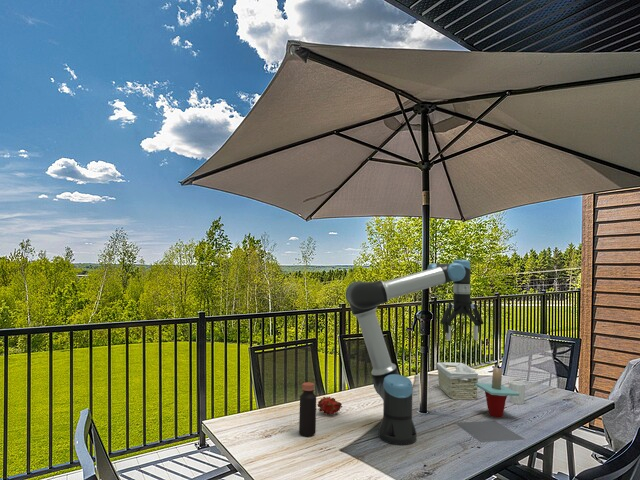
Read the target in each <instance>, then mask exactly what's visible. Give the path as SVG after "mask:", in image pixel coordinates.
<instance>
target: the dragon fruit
mask: <svg viewBox="0 0 640 480" xmlns="http://www.w3.org/2000/svg"><path fill="white" fill-rule="evenodd" d="M317 402H318V403H316V406H317V407H318V409H317V410H318V411H319V412H323V415H326V416H329V415H332V416H336V415H338V412H339V411H341V410H340V409H342V408H343V404H342V403H341V402H339V401H337V400H336V398H334V397H331V396H327V397H325V396H323V397H322V398H320V400H318V401H317Z"/></svg>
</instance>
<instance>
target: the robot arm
mask: <svg viewBox="0 0 640 480" xmlns="http://www.w3.org/2000/svg"><path fill="white" fill-rule="evenodd" d="M471 271H472V269H471V262H470V260H468V259H453V261H452V262H451V263H450V262H449V263H448V262H447V263H436V262H434V263H429V264H428V265H427V269H425V270H422V271H418V272H415V273H410V274H408V275H404V276H400V277H397V278H392V279H390V280H385V281H383V280H381V279H380V280H377V281H369V282H368V281H361V280H357V281H353V282H352V283H350V284H348V286H347V288H346V290H345V299H346V301H347V303H348V305H349V308H350V311H351V314H352V315H353V316H354V317H356V318H357V321H358V325H359V327H360V331H361V334H362V336H363V340H364V341H363V342H364V343H365V347H366V349H367V353H368V356H369V359H370V363H371V366H372V370H371V372H370V373H371V376H372V381H373V382H372V383H373V384H372V385H373V388H374V390H375V392H376V393H377V394H378V395H379V397H380V398H381V399H382V401H383V407H382V408H383V409H382V411H383V412H382V413H383V415H382V419H381V423H380V425H379V428H378V437H379V438H380V439H381V440H382V441H384V442H385V443H389V444H392V445H398V446H403V445H404V446H405V445H410V444H414V443H415V442H417V435H418V434H417V430H416V427H415V424H414V420H413V392H414V387H413V383H412V382H413V381H412V380H411V379H410V378H409V377H407V376H405V375H402V374H400V373H399V371H398V368H397V365H396V364H395V363H393V362H392V359H391V356H390V354H389V353H390V352H389V350H388V348H387V344H386V340H385V337H384V334H383V331H382V329H381V326H380V323H379V319H378V316H377V312H376V311H377V310H378V306H380V305H382V304H385V303H388V302H389V300H391V299H395V298H399V297H402V296H404V295H409V294H412V293H417V292H419V291H423V290H426V289H430V288H432V287H436V286H441V285H443V284H448V283H452V282H453V283H452V284H453V286H452V287H453V288H452V289H453V290H452V291H453V296H452V298H453V299H452V300H453V303H452V304H451V303H447V304H446V309H445V311H444V314H443V316H442V317H441V321H440V324H441V325H443V326H444V333H445V340H446V341H448V342H449V341H451V340H452V339H451V338H452V336H451V335H452V334H451V333H452V332H451V330H452V326H451V323H452V322H453V320H455V318H456V317H457V316H458V315H462V314H463V315H467V316H468V318H469V319H470V320H471V321H472V323H473V325H472V330H473V331H472V332H473V333H472V336H473V340H474V341H477V342H478V341H479V333H480V327H481V326H482V325H484V324H485V323H484V320H483V319H482V317H481V314H480V312H479V310H478V305H477V304H476V303H472V304H471V300H472V299H471V298H472V296H471ZM452 309H453V310H452ZM471 310H472V311H471ZM472 312H473V313H472Z"/></svg>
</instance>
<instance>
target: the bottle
mask: <svg viewBox="0 0 640 480" xmlns="http://www.w3.org/2000/svg"><path fill="white" fill-rule="evenodd" d="M314 391H315V383H314V382H309V381H308V382H303V383H302V393H301V394H300V395H299V420H298V421H299V422H298V423H299V425H298V432H299V433H298V435H300V436H301V437H304V438H310V437H314V436H316V432H317V430H316V427H317V424H316V423H317V395H316V394H315V392H314Z"/></svg>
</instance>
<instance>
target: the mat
mask: <svg viewBox="0 0 640 480" xmlns="http://www.w3.org/2000/svg"><path fill="white" fill-rule="evenodd" d="M454 424H455V425H456V426H458V427H460V428H461V429H462V430H464V432H466V433H468V434H469V435H470V436H472V437H473V438H474V439H475V440H477V441H478V442H480V443H488V442H490V443H491V442H504V441H506V442H507V441H517V440H518V441H521V440H525V438H524V437H522V436H521V435H519V434H517V433H516V432H514V431H513V430H511V429H509V428H507V427H506V426H505V425H503V424H501V423H499V422H498V421H496V420H484V421H483V420H481V421H463V422H454Z"/></svg>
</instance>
